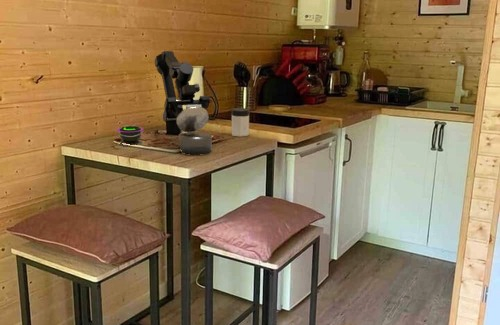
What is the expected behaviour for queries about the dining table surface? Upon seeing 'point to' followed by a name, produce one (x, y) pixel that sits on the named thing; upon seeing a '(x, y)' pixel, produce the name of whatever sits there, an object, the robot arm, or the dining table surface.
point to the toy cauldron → (130, 135)
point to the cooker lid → (192, 118)
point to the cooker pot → (196, 143)
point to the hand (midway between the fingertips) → (192, 119)
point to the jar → (240, 122)
